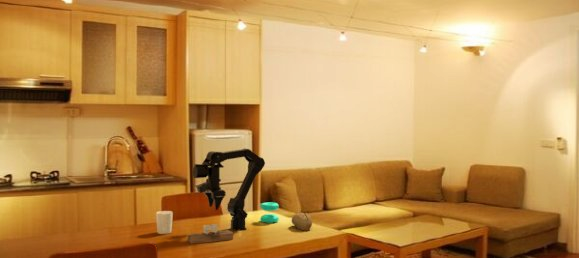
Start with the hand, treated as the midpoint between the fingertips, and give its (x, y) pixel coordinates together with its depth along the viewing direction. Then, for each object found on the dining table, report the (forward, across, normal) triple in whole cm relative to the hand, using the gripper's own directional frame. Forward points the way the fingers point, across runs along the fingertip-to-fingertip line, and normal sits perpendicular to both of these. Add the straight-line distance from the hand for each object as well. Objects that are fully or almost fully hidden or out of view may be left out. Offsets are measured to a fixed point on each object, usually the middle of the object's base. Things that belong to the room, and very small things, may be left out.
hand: (213, 208), depth 251 cm
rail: (+12, +14, -6) cm, 19 cm away
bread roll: (+12, +9, +45) cm, 47 cm away
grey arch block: (+11, +14, -6) cm, 19 cm away
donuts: (+12, -12, +36) cm, 40 cm away
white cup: (+12, -10, -22) cm, 27 cm away
